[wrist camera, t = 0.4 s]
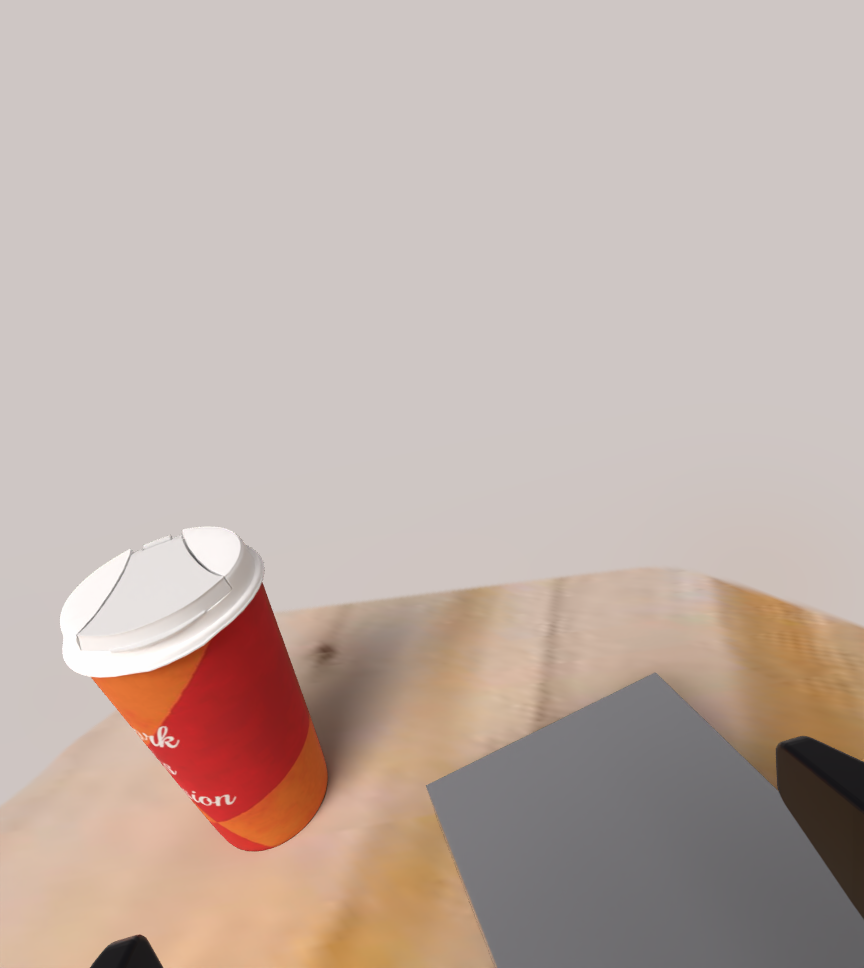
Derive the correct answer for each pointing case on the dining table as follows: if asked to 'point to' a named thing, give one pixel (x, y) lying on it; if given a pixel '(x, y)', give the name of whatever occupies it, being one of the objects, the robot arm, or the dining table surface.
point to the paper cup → (203, 679)
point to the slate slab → (639, 848)
